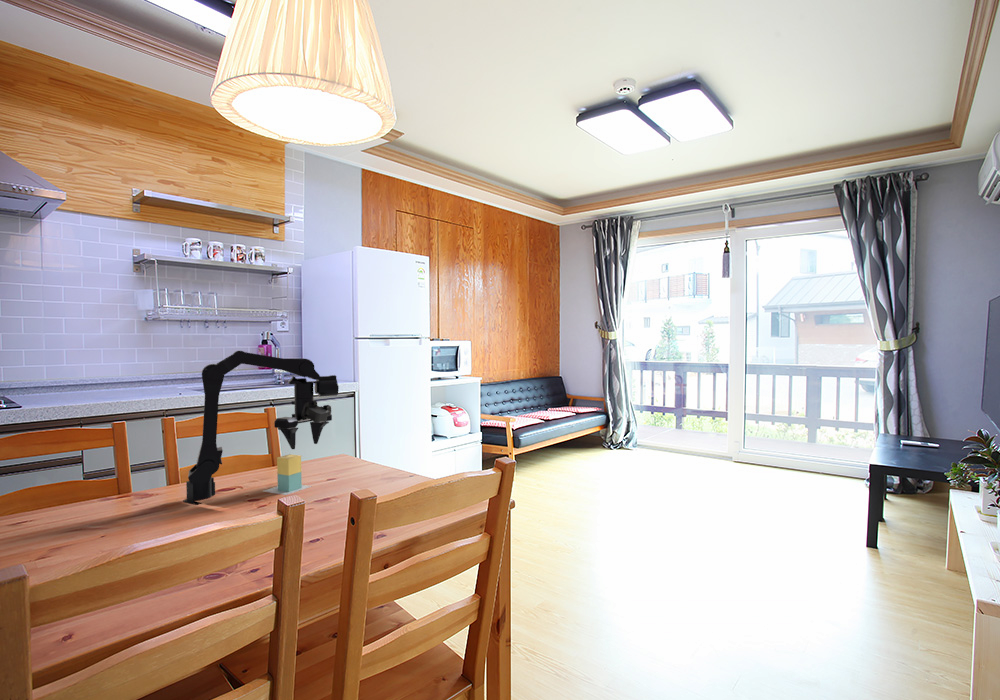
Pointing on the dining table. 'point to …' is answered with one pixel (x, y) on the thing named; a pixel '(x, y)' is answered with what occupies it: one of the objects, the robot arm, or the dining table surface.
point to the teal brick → (289, 482)
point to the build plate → (275, 490)
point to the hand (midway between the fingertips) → (304, 446)
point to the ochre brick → (289, 464)
